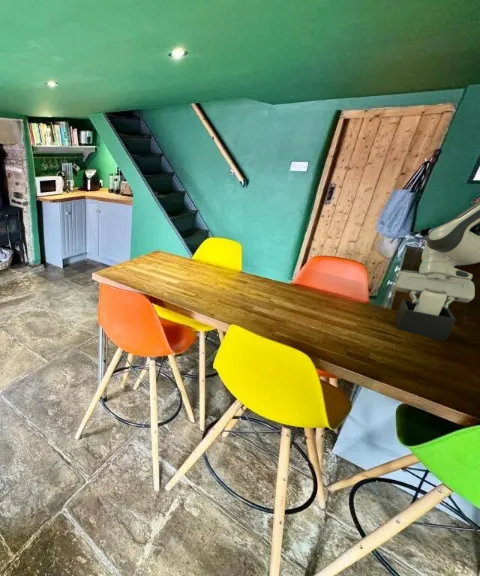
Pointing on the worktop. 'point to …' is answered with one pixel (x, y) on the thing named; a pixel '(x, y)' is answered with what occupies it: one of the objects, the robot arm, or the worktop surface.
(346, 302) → the worktop surface
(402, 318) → the bin
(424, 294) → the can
